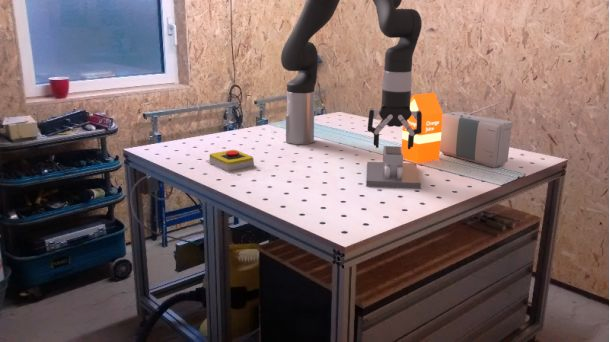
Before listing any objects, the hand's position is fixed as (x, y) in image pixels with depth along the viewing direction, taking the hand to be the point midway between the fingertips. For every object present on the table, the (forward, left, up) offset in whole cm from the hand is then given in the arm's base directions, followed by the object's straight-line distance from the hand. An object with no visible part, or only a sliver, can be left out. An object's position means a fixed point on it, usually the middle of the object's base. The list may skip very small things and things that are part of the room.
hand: (393, 147), depth 150 cm
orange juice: (+9, +20, -8) cm, 24 cm away
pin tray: (0, 0, -8) cm, 8 cm away
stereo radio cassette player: (+25, +21, -9) cm, 34 cm away
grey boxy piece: (0, 0, -7) cm, 7 cm away
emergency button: (-47, +6, -9) cm, 48 cm away
